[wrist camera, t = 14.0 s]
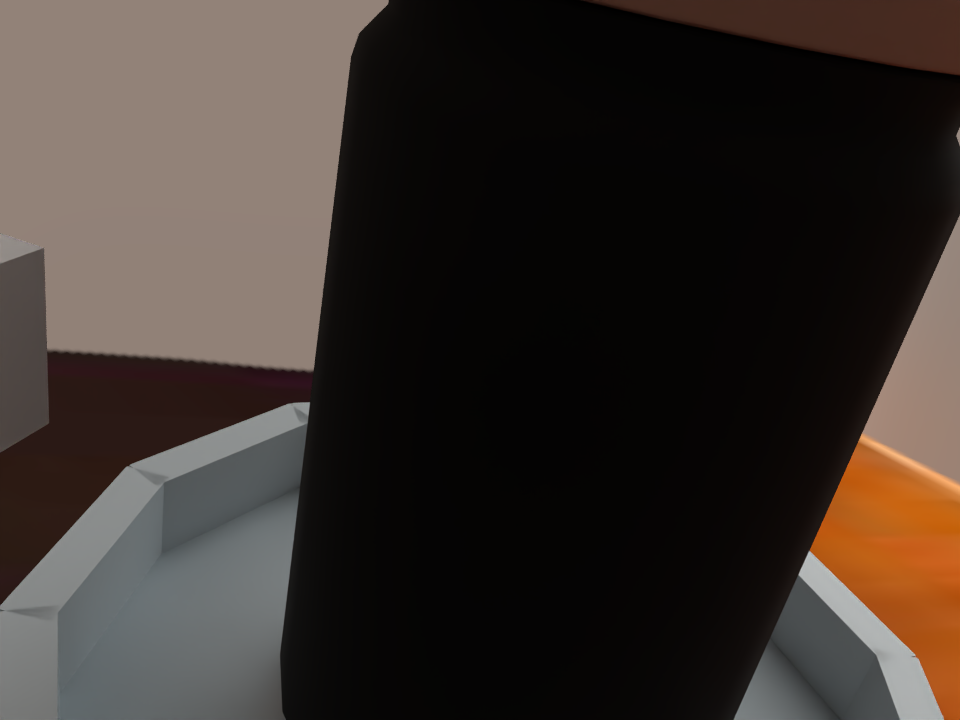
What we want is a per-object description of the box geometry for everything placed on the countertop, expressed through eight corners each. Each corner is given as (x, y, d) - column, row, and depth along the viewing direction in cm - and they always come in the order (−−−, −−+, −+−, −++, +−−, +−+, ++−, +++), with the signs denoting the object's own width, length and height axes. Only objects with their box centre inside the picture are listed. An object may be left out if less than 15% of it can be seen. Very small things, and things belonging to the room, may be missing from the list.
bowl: (810, 567, 33) (846, 489, 31) (1113, 1527, 13) (1251, 1447, 11) (230, 427, 33) (237, 345, 32) (-316, 1136, 14) (-368, 1009, 12)
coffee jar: (747, 695, 25) (1051, 18, 17) (583, 1044, 16) (1044, 5, 8) (434, 521, 29) (559, -85, 21) (175, 725, 21) (220, -163, 13)
